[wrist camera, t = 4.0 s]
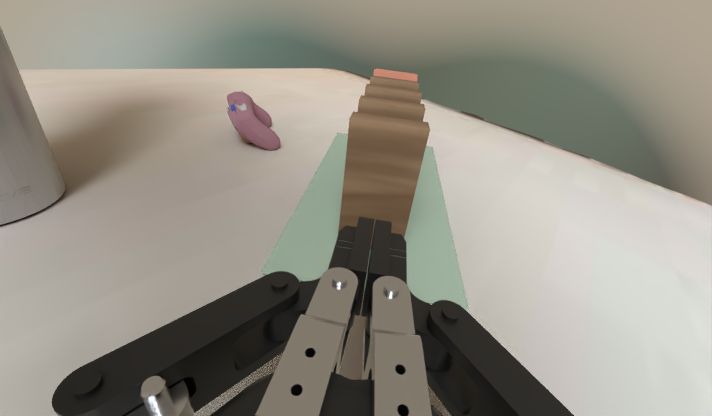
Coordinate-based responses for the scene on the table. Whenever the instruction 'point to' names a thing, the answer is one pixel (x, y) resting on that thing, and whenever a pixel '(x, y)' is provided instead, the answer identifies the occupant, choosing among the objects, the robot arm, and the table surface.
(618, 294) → the table surface
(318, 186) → the felt mat
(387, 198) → the domino
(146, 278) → the table surface
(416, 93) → the domino
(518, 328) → the table surface
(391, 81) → the domino
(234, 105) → the video game controller
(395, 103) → the domino
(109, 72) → the table surface
